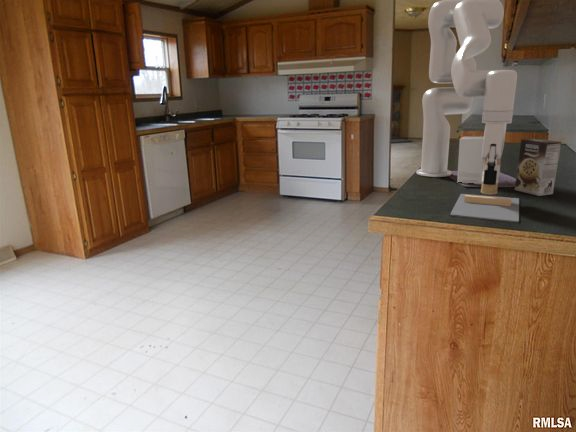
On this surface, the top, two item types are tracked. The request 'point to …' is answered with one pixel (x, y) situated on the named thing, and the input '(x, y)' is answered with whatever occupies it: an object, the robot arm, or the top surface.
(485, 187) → the sprinkles bottle
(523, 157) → the coffee box
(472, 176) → the skincare box
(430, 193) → the top surface
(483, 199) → the mat
